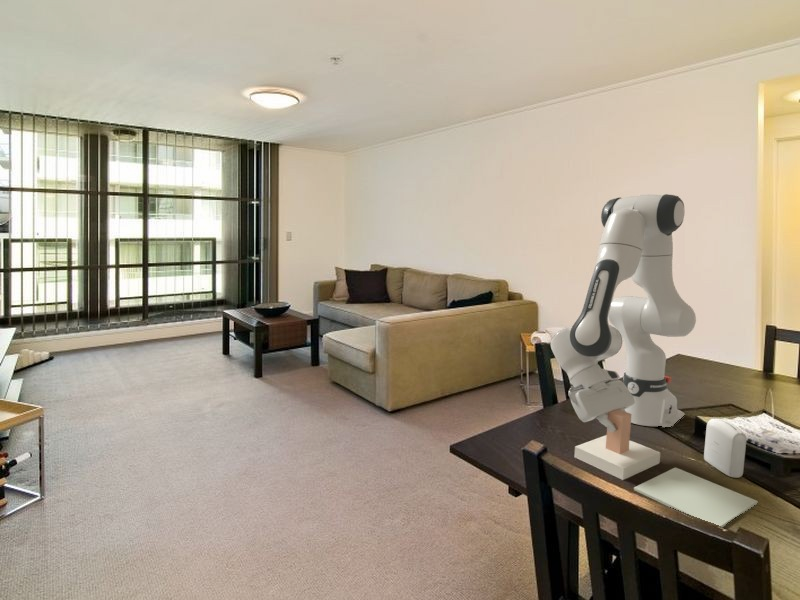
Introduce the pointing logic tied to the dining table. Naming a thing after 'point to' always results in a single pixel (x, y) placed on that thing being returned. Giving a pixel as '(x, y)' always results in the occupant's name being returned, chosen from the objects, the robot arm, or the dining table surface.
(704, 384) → the dining table surface
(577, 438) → the dining table surface
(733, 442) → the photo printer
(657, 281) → the robot arm
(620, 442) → the block
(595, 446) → the block
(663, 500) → the mat
